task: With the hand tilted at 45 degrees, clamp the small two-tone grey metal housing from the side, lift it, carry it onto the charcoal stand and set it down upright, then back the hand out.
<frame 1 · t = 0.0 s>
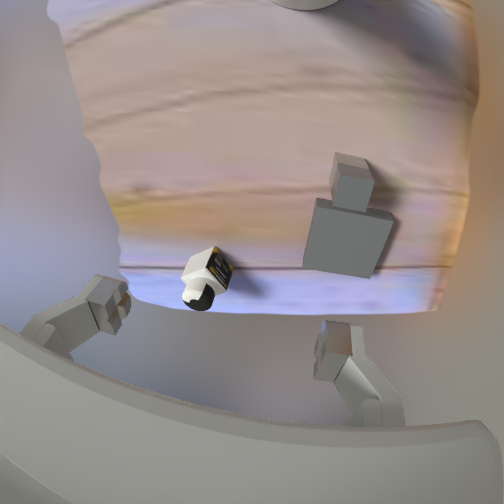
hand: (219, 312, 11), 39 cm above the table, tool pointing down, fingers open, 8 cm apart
charcoal stand: (345, 236, 54), on the table
metal housing: (346, 168, 45), on the table
medicine bottle: (212, 261, 65), on the table
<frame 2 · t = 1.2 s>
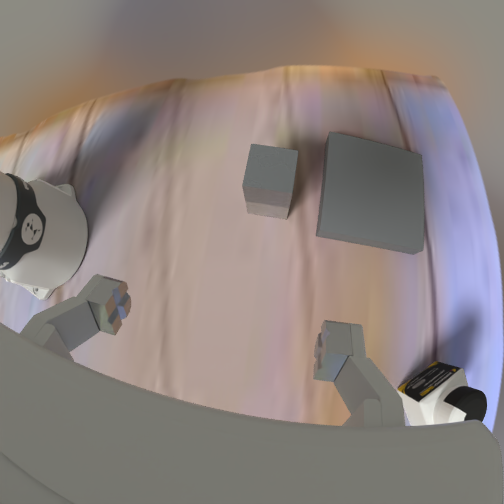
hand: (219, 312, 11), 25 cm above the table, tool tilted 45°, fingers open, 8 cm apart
charcoal stand: (370, 196, 37), on the table
metal housing: (270, 198, 38), on the table
medicine bottle: (422, 393, 32), on the table
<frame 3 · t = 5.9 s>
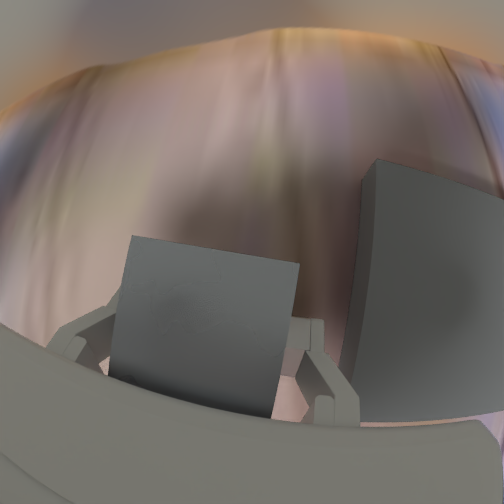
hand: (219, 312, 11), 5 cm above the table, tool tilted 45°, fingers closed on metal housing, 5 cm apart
charcoal stand: (446, 302, 16), on the table
metal housing: (233, 322, 17), on the table, touching gripper
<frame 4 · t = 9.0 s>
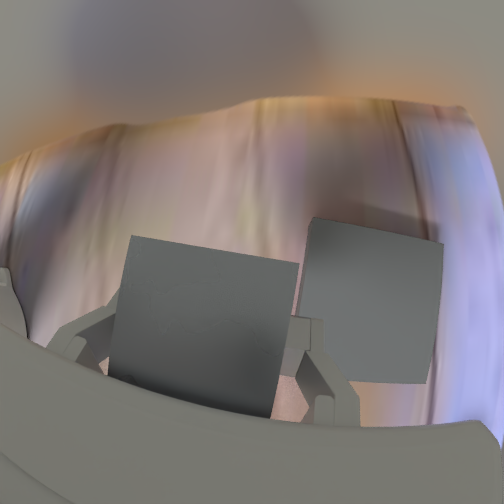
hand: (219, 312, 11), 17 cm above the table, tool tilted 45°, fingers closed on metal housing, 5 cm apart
charcoal stand: (366, 306, 27), on the table
metal housing: (232, 321, 17), point 11 cm above the table, touching gripper
when the fingers open (10 cm above the table, at t = 12.3 s): metal housing drops 1 cm, resting on charcoal stand.
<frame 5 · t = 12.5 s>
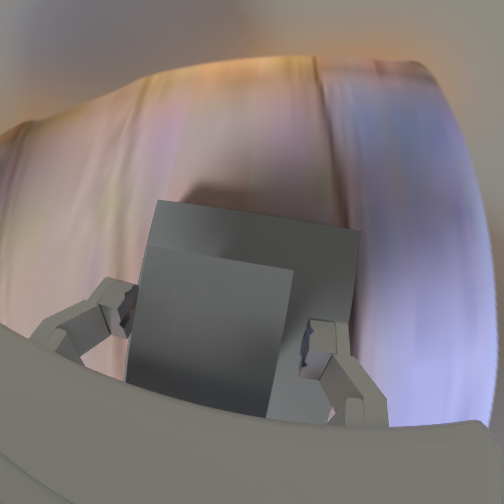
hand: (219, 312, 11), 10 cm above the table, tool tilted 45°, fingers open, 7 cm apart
charcoal stand: (240, 319, 21), on the table
metal housing: (235, 320, 18), point 3 cm above the table, touching charcoal stand
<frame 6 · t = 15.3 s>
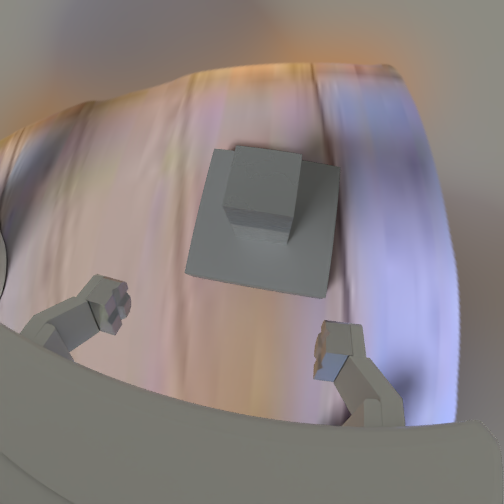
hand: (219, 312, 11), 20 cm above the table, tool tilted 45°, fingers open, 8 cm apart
charcoal stand: (266, 224, 32), on the table
metal housing: (265, 216, 29), point 3 cm above the table, touching charcoal stand
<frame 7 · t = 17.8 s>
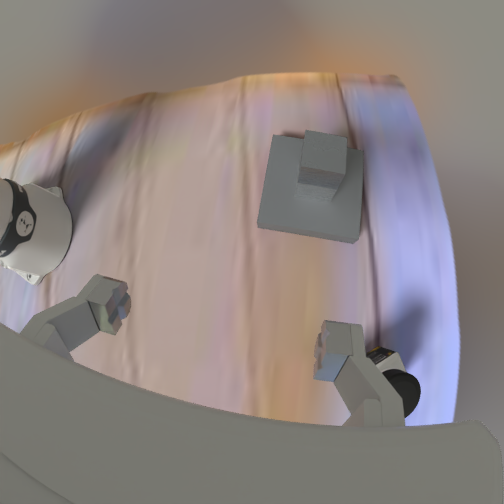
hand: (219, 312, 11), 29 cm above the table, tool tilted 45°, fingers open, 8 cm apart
charcoal stand: (312, 190, 43), on the table
metal housing: (314, 182, 40), point 3 cm above the table, touching charcoal stand
medicine bottle: (366, 377, 38), on the table
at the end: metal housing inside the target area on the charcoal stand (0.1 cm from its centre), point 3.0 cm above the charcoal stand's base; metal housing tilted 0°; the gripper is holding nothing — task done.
